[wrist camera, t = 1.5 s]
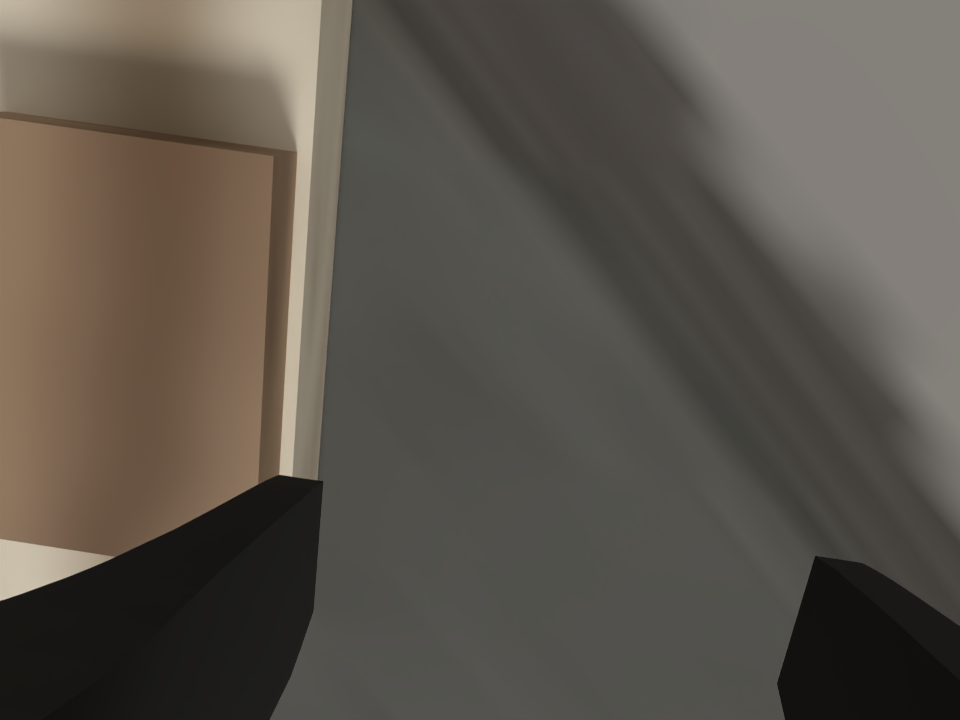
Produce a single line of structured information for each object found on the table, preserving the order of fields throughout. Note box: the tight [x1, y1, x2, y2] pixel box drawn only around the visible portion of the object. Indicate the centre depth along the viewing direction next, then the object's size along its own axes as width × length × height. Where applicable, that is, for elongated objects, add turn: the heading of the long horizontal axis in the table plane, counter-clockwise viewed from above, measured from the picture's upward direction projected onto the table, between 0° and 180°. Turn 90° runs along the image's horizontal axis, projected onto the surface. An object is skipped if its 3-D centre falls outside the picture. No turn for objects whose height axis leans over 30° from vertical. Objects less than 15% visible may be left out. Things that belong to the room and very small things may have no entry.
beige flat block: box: [0, 0, 353, 601], centre depth 19 cm, size 8×16×2 cm, turn 173°
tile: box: [0, 112, 297, 557], centre depth 17 cm, size 6×9×2 cm, turn 173°
